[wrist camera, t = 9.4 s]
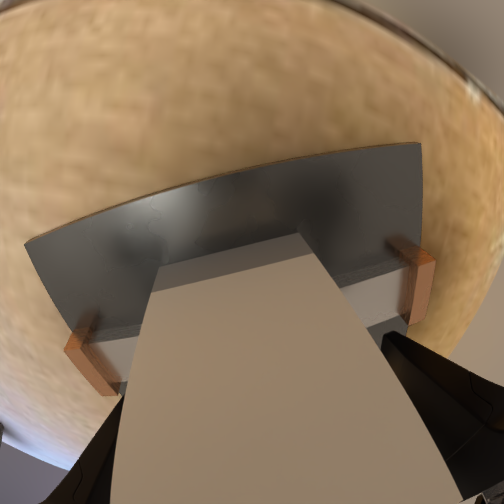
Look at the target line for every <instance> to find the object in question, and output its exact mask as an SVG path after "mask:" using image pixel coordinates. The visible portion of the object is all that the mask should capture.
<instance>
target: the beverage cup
mask: <svg viewBox="0 0 504 504" xmlns="http://www.w3.org/2000/svg"><path fill="white" fill-rule="evenodd" d="M3 430H4V427H3V425H2V424H1V423H0V446H1V441H2V435H3Z"/></svg>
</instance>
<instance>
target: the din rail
mask: <svg viewBox="0 0 504 504" xmlns="http://www.w3.org/2000/svg"><path fill="white" fill-rule="evenodd" d="M422 198H423V178H422V152H421V143H417V142H408V143H397V144H387V145H378V146H369V147H361V148H354V149H347V150H340V151H333V152H327V153H321V154H315V155H309V156H303V157H298V158H292V159H287V160H282V161H277V162H272V163H267V164H263V165H258V166H254V167H249V168H245V169H240V170H236V171H232V172H228V173H224V174H220V175H216V176H212V177H208V178H204V179H201V180H197V181H193V182H190V183H186V184H183V185H179V186H176V187H172V188H169V189H165V190H162V191H159V192H156V193H152V194H149V195H146V196H143V197H140V198H137V199H134V200H131V201H128V202H125V203H122V204H119V205H116V206H113V207H110V208H108V209H105V210H102V211H99V212H97V213H94V214H91V215H89V216H86V217H83V218H81V219H78V220H76V221H73V222H71V223H68V224H66V225H63V226H61V227H58V228H56V229H54V230H51V231H49V232H47V233H44V234H42V235H40V236H37V237H35V238H33V239H31V240H29V241H27V242H26V243H25V244H24V246H25V248H26V250H27V253H28V255H29V257H30V259H31V261H32V263H33V265H34V267H35V269H36V271H37V273H38V275H39V277H40V279H41V281H42V283H43V285H44V286H45V288H46V290H47V292H48V294H49V295H50V297H51V299H52V301H53V302H54V304H55V306H56V307H57V309H58V311H59V312H60V314H61V315H62V317H63V319H64V320H65V322H66V323H67V325H68V326H69V328H70V329H71V331H72V334H71V336H70V338H69V340H68V342H67V344H66V346H65V348H64V352H65V353H66V355H67V356H68V357H69V359H70V360H71V361H72V362H73V364H74V365H75V366H76V367H77V369H78V370H79V371H80V372H81V373H82V375H83V376H84V377H85V378H86V379H87V380H88V382H89V383H90V384H91V385H92V386H93V387H94V388H95V389H96V391H97V392H98V393H99V394H100V395H101V396H118V394H119V393H120V394H121V395H122V396H123V395H124V394H125V393H126V388H127V383H128V379H129V374H130V370H131V366H132V361H133V357H134V353H135V349H136V345H137V341H138V337H139V334H140V330H141V326H142V322H143V319H144V315H145V312H146V308H147V305H148V301H149V298H150V295H151V291H152V288H153V285H154V282H155V279H156V275H157V272H158V269H159V267H162V266H166V265H170V264H174V263H178V262H182V261H185V260H189V259H193V258H197V257H201V256H205V255H209V254H213V253H217V252H221V251H225V250H229V249H234V248H238V247H242V246H246V245H250V244H254V243H258V242H262V241H266V240H270V239H274V238H278V237H282V236H286V235H291V234H295V233H300V235H301V236H302V238H303V239H304V240H305V242H306V243H307V244H308V246H309V247H310V248H311V250H312V251H313V253H314V254H315V255H316V257H317V258H318V259H319V261H320V262H321V264H322V265H323V266H324V268H325V269H326V271H327V272H328V273H329V275H330V276H331V278H332V279H333V281H334V282H335V283H336V285H337V286H338V288H339V289H340V291H341V292H342V293H343V295H344V296H345V298H346V299H347V301H348V302H349V304H350V305H351V307H352V308H353V310H354V311H355V313H356V314H357V316H358V317H359V319H360V320H361V322H362V323H363V325H364V326H365V328H366V329H367V331H368V332H369V334H370V335H371V337H372V338H373V340H374V341H375V343H376V345H377V346H378V348H379V349H380V351H381V343H382V337H383V335H384V333H387V332H389V331H392V330H394V331H397V332H399V333H400V334H402V335H404V336H406V332H407V328H408V326H410V325H412V324H414V323H417V322H419V321H421V320H423V319H425V316H426V311H427V307H428V302H429V298H430V293H431V288H432V282H433V277H434V271H435V264H436V260H435V259H434V258H433V257H432V256H430V255H429V254H428V253H426V252H425V251H424V250H423V249H421V248H420V240H421V226H422Z"/></svg>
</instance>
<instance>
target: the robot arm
mask: <svg viewBox="0 0 504 504" xmlns="http://www.w3.org/2000/svg"><path fill="white" fill-rule="evenodd" d="M381 352H382V354H383V355H384V357H385V359H386V360H387V362H388V363H389V365H390V367H391V368H392V370H393V372H394V373H395V375H396V376H397V378H398V380H399V381H400V383H401V385H402V386H403V388H404V390H405V391H406V393H407V395H408V396H409V398H410V400H411V401H412V403H413V405H414V407H415V408H416V410H417V412H418V414H419V415H420V417H421V419H422V421H423V422H424V424H425V426H426V428H427V430H428V431H429V433H430V435H431V437H432V439H433V441H434V442H435V444H436V446H437V448H438V450H439V452H440V454H441V456H442V458H443V459H444V461H445V463H446V465H447V467H448V469H449V471H450V473H451V475H452V477H453V479H454V481H455V484H456V486H457V488H458V490H459V492H460V494H461V496H462V498H463V500H462V501H465V500H466V499H469V498H471V497H473V496H475V495H477V494H479V493H481V494H480V495H479V496H478V497H477V499H476V501H475V504H504V387H502V386H500V385H497V384H495V383H493V382H490V381H488V380H486V379H484V378H482V377H480V376H478V375H476V374H474V373H472V372H471V371H468V370H467V369H465V368H463V367H461V366H459V365H458V364H456V363H454V362H452V361H450V360H448V359H446V358H445V357H443V356H441V355H439V354H437V353H435V352H434V351H432V350H430V349H428V348H426V347H424V346H423V345H421V344H419V343H417V342H415V341H413V340H411V339H410V338H408V337H406V336H404V335H402V334H400V333H399V332H397V331H394V330H392V331H389V332H387V333H384V335H383V337H382V343H381ZM124 398H125V394H124V395H123V396H122V398H121V399H120V401H119V402H118V403H117V405H116V406H115V408H114V409H113V410H112V412H111V413H110V414H109V416H108V417H107V419H106V420H105V422H104V423H103V424H102V426H101V427H100V429H99V430H98V431H97V433H96V434H95V436H94V437H93V438H92V440H91V441H90V443H89V444H88V446H87V447H86V448H85V450H84V451H83V453H82V454H81V456H80V457H79V459H78V460H77V461H76V463H75V464H74V466H73V467H72V468H71V470H70V471H69V473H68V474H67V475H66V476H65V478H64V479H63V480H62V481H61V483H60V484H59V485H58V486H57V487H56V489H54V491H53V492H52V493H51V494H50V495H49V496H48V497H47V498H46V500H44V501H43V502H41V503H39V504H110V496H111V484H112V474H113V466H114V458H115V450H116V443H117V437H118V431H119V425H120V419H121V413H122V408H123V403H124ZM462 501H461V502H462ZM459 503H460V502H459Z"/></svg>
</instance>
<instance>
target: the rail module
mask: <svg viewBox="0 0 504 504" xmlns="http://www.w3.org/2000/svg"><path fill="white" fill-rule="evenodd" d="M462 500H463V498H462V496H461V494H460V492H459V490H458V488H457V486H456V484H455V481H454V479H453V477H452V475H451V473H450V471H449V469H448V467H447V465H446V463H445V461H444V459H443V458H442V456H441V454H440V452H439V450H438V448H437V446H436V444H435V442H434V441H433V439H432V437H431V435H430V433H429V431H428V430H427V428H426V426H425V424H424V422H423V421H422V419H421V417H420V415H419V414H418V412H417V410H416V408H415V407H414V405H413V403H412V401H411V400H410V398H409V396H408V395H407V393H406V391H405V390H404V388H403V386H402V385H401V383H400V381H399V380H398V378H397V376H396V375H395V373H394V372H393V370H392V368H391V367H390V365H389V363H388V362H387V360H386V359H385V357H384V355H383V354H382V352H381V351H380V349H379V348H378V346H377V345H376V343H375V341H374V340H373V338H372V337H371V335H370V334H369V332H368V331H367V329H366V328H365V326H364V325H363V323H362V322H361V320H360V319H359V317H358V316H357V314H356V313H355V311H354V310H353V308H352V307H351V305H350V304H349V302H348V301H347V299H346V298H345V296H344V295H343V293H342V292H341V291H340V289H339V288H338V286H337V285H336V283H335V282H334V281H333V279H332V278H331V276H330V275H329V273H328V272H327V271H326V269H325V268H324V266H323V265H322V264H321V262H320V261H319V259H318V258H317V257H316V255H315V254H314V253H313V251H312V250H311V248H310V247H309V246H308V244H307V243H306V242H305V240H304V239H303V238H302V236H301V235H300V233H295V234H291V235H286V236H282V237H278V238H274V239H270V240H266V241H262V242H258V243H254V244H250V245H246V246H242V247H238V248H234V249H229V250H225V251H221V252H217V253H213V254H209V255H205V256H201V257H197V258H193V259H189V260H185V261H182V262H178V263H174V264H170V265H166V266H162V267H159V269H158V272H157V275H156V279H155V282H154V285H153V288H152V291H151V295H150V298H149V301H148V305H147V308H146V312H145V315H144V319H143V322H142V326H141V330H140V334H139V337H138V341H137V345H136V349H135V353H134V357H133V361H132V366H131V370H130V374H129V379H128V383H127V388H126V393H125V398H124V403H123V408H122V413H121V419H120V425H119V431H118V437H117V443H116V450H115V458H114V466H113V474H112V484H111V496H110V504H458V503H459V502H461V501H462Z"/></svg>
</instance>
